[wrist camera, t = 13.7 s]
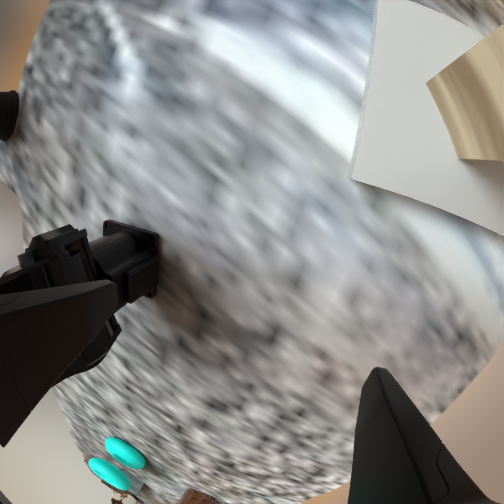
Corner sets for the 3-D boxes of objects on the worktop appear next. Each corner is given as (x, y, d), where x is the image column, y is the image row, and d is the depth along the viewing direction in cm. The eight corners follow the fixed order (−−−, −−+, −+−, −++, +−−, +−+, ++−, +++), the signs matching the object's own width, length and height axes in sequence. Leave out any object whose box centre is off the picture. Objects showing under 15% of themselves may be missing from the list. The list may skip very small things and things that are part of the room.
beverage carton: (146, 483, 53) (136, 498, 47) (126, 482, 61) (118, 494, 55) (124, 468, 52) (113, 483, 46) (108, 469, 60) (99, 481, 54)
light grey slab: (347, 176, 18) (351, 179, 15) (373, 10, 13) (378, -9, 10) (499, 232, 15) (518, 243, 12) (519, 80, 10) (537, 74, 7)
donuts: (79, 461, 36) (97, 468, 32) (102, 433, 45) (123, 435, 41) (112, 487, 37) (135, 496, 33) (132, 460, 46) (156, 464, 42)
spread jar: (140, 498, 67) (128, 517, 56) (140, 502, 71) (129, 519, 60) (114, 483, 68) (101, 501, 57) (116, 487, 72) (104, 504, 62)
